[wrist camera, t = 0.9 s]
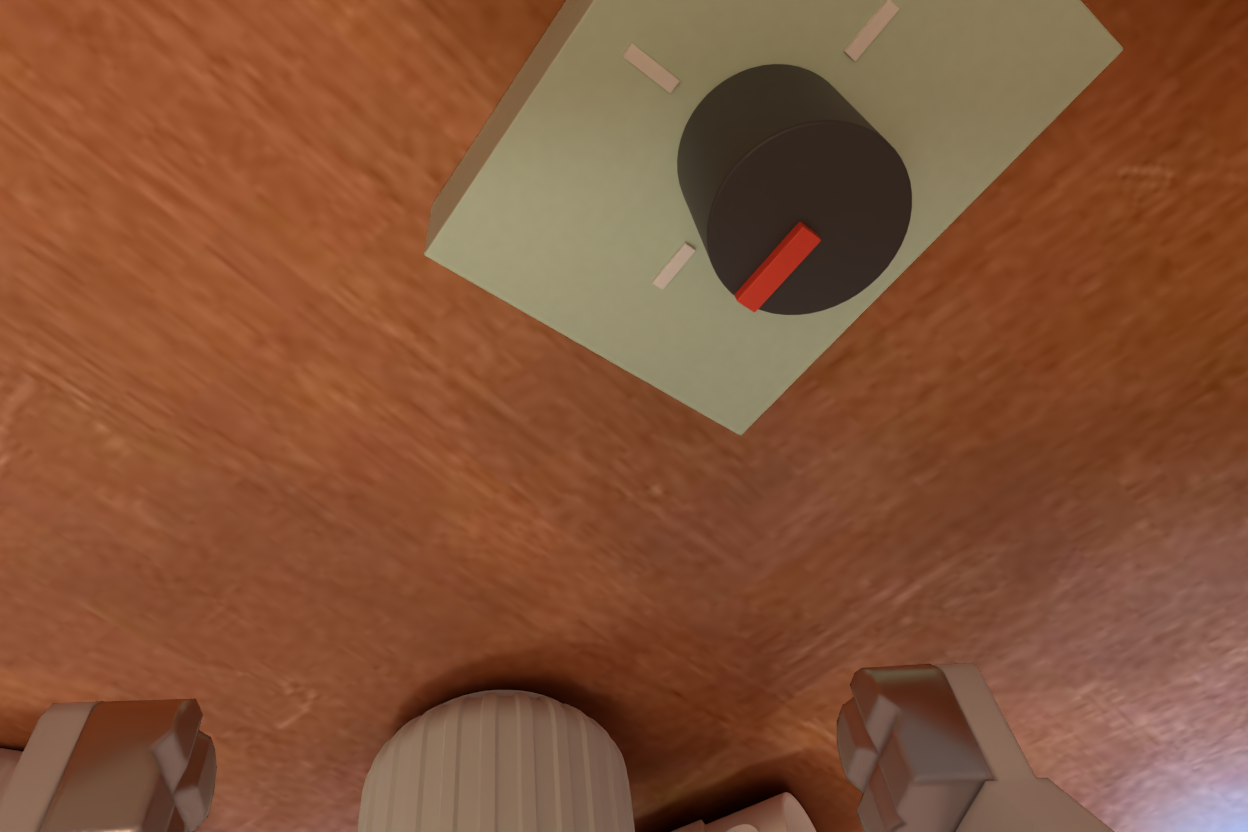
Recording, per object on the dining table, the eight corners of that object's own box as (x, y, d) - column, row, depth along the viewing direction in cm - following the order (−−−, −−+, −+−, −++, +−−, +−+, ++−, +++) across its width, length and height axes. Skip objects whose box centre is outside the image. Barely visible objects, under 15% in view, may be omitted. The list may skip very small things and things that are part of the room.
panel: (765, -307, 18) (806, -316, 16) (1061, 19, 23) (1128, 51, 21) (430, 206, 24) (422, 258, 22) (721, 381, 29) (741, 440, 27)
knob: (760, 22, 20) (814, 78, 16) (889, 134, 21) (961, 205, 18) (640, 178, 21) (666, 258, 18) (769, 267, 23) (814, 355, 20)
